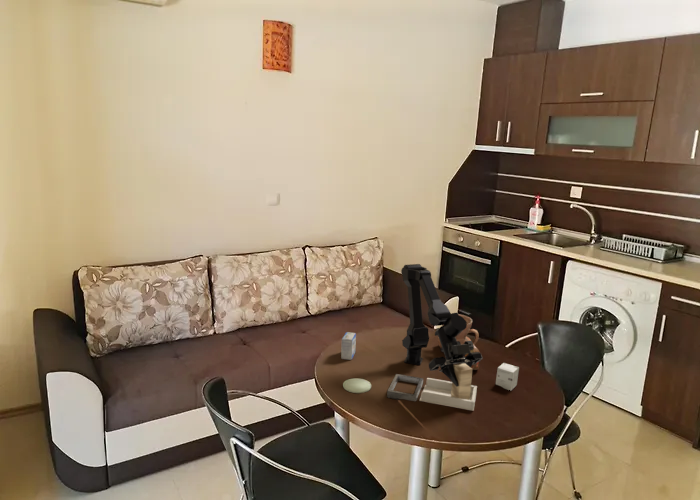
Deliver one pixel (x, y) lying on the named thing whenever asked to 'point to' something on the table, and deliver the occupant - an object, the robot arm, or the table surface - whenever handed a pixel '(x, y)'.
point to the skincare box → (507, 376)
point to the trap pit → (403, 395)
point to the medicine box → (348, 346)
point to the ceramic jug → (465, 332)
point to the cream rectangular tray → (446, 394)
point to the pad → (357, 385)
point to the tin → (476, 366)
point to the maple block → (462, 381)
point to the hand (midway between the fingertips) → (463, 385)
